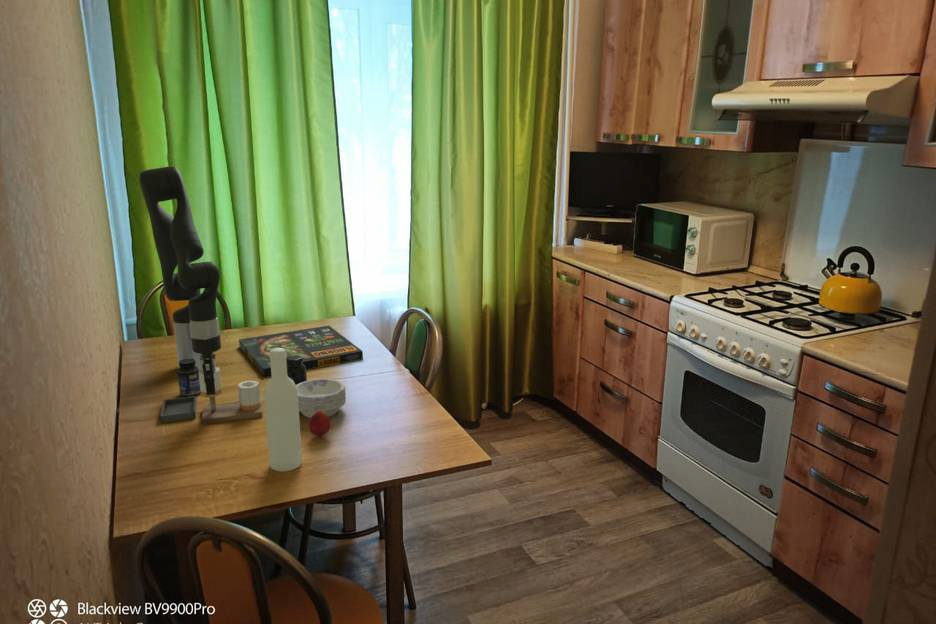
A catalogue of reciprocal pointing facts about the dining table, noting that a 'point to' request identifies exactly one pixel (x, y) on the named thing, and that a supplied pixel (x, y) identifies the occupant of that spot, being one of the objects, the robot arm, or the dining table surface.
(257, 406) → the seated sleeve
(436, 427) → the dining table surface
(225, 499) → the dining table surface
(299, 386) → the paper bowls
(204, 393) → the sleeve
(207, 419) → the pin board
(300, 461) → the bottle
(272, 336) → the pizza box
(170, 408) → the feeder tray
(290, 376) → the supplement bottle
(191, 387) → the pill bottle
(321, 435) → the onion
